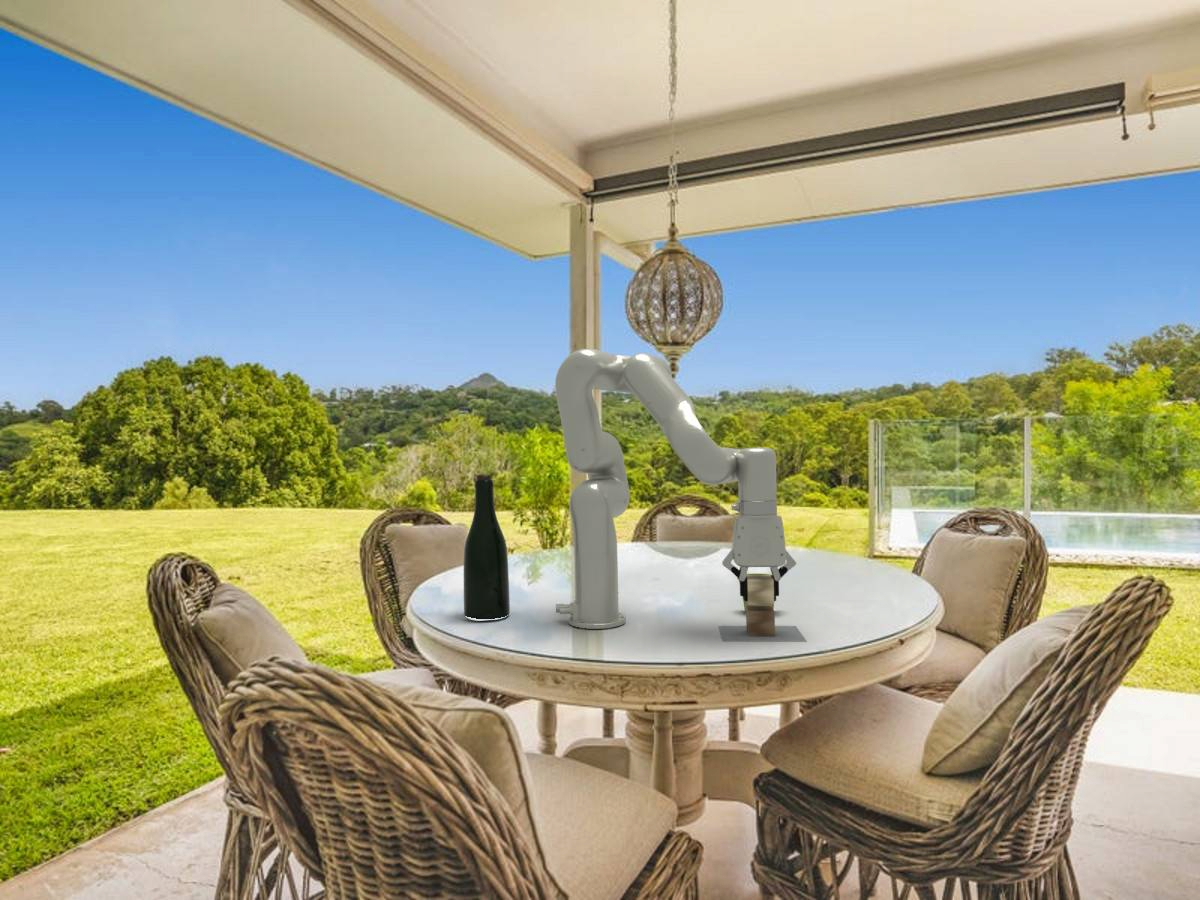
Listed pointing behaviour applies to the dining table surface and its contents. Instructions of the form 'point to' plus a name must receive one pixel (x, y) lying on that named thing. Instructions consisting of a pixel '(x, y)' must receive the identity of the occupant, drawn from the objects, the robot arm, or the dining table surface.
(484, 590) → the dark wine bottle
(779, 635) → the mat
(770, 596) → the maple block
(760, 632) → the walnut block
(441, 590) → the dining table surface
